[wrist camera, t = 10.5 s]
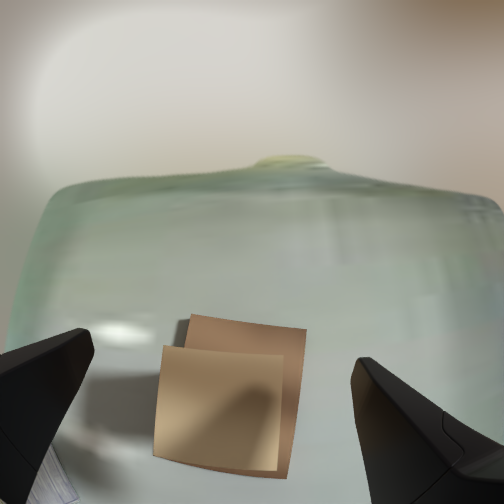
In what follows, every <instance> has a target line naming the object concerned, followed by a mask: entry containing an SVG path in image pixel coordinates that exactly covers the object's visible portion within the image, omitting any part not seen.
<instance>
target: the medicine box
mask: <svg viewBox="0 0 504 504" xmlns="http://www.w3.org/2000/svg"><path fill="white" fill-rule="evenodd" d="M37 473H38V474H37V476H36V479H35V481H34V484H33V486H32V489H31V491H30V494H29V496H28V499H27V502H26V504H73V503H75V502H78V501H80V499H79V497H78V496H77V494H76V492H75V490H74V489H73V487H72V485H71V483H70V482H69V480H68V478H67V476H66V474H65V472H64V470H63V468H62V466H61V464H60V462H59V460H58V458H57V456H56V453H55V451H54V449H53V447H52V444H50V447H49V449H48V451H47V453H46V455H45V457H44V460H43V462H42V464H41V466H40V469H39V471H38V472H37ZM0 504H6V503H5V502H4V501H2V500H1V499H0Z"/></svg>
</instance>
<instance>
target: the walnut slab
mask: <svg viewBox="0 0 504 504" xmlns="http://www.w3.org/2000/svg"><path fill="white" fill-rule="evenodd" d="M306 331H307V329H298V328H288V327H279V326H271V325H263V324H255V323H247V322H240V321H233V320H226V319H220V318H213V317H207V316H201V315H195V314H191V317H190V322H189V326H188V331H187V336H186V341H185V345H184V348H189V349H198V350H208V351H219V352H231V353H245V354H264V355H284V358H283V382H282V402H281V419H280V435H279V449H278V462H277V471H263V470H243V469H231V468H221V467H213V466H205V465H198V464H192V463H186V462H181V461H175V460H171V459H168V460H171V461H175V462H179V463H183V464H187V465H191V466H195V467H200V468H204V469H209V470H214V471H220V472H226V473H232V474H238V475H246V476H254V477H264V478H276V479H287V474H288V468H289V463H290V457H291V451H292V445H293V439H294V432H295V425H296V418H297V411H298V404H299V396H300V388H301V380H302V371H303V362H304V352H305V342H306ZM165 459H166V458H165Z"/></svg>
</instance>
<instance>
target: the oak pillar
mask: <svg viewBox="0 0 504 504" xmlns="http://www.w3.org/2000/svg"><path fill="white" fill-rule="evenodd" d="M283 358H284V355H264V354H245V353H231V352H219V351H208V350H198V349H189V348H181V347H173V346H166V345H164V346H163V353H162V361H161V369H160V377H159V387H158V396H157V407H156V419H155V433H154V449H153V456H157V457H161V458H166V459H171V460H175V461H181V462H186V463H192V464H198V465H205V466H213V467H221V468H231V469H243V470H263V471H277V462H278V449H279V435H280V419H281V402H282V382H283Z"/></svg>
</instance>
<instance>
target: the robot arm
mask: <svg viewBox="0 0 504 504" xmlns="http://www.w3.org/2000/svg"><path fill="white" fill-rule="evenodd" d="M93 356H94V346H93V342H92V338H91V334H90V332H89V331H88V330H87V329H83V328H76V329H74V330H71V331H68V332H65V333H62V334H59V335H56V336H53V337H50V338H48V339H45V340H42V341H39V342H36V343H33V344H30V345H27V346H24V347H21V348H18V349H15V350H12V351H9V352H6V353H3V354H2V355H1V354H0V499H1V500H2V501H4V502H5V503H6V504H26V502H27V499H28V496H29V494H30V491H31V489H32V486H33V484H34V481H35V479H36V476H37V474H38V473H37V472H38V471H39V469H40V466H41V464H42V462H43V460H44V457H45V455H46V453H47V451H48V449H49V447H50V444H51V442H52V440H53V438H54V436H55V434H56V432H57V430H58V428H59V426H60V424H61V422H62V420H63V418H64V416H65V414H66V412H67V410H68V408H69V407H70V405H71V403H72V401H73V399H74V397H75V395H76V394H77V392H78V390H79V388H80V386H81V384H82V381H83V379H84V377H85V374H86V372H87V370H88V367H89V365H90V363H91V361H92V358H93ZM351 391H352V399H353V408H354V417H355V424H356V429H357V433H358V437H359V442H360V446H361V451H362V456H363V460H364V465H365V470H366V475H367V480H368V486H369V491H370V496H371V502H372V504H504V446H503V445H501V444H499V443H497V442H495V441H493V440H491V439H490V438H488V437H486V436H484V435H482V434H480V433H479V432H477V431H475V430H473V429H472V428H470V427H468V426H466V425H465V424H463V423H462V422H460V421H459V420H457V419H456V418H454V417H453V416H451V415H450V414H448V413H447V412H446V411H443V409H441V408H440V407H438V406H437V405H436V404H434V403H433V402H431V401H430V400H429V399H427V398H426V397H424V396H423V395H422V394H420V393H419V392H417V391H416V390H415V389H413V388H412V387H410V386H409V385H408V384H406V383H405V382H404V381H402V380H401V379H399V378H398V377H397V376H395V375H394V374H392V373H391V372H390V371H388V370H387V369H386V368H384V367H383V366H381V365H380V364H379V363H377V362H376V361H375V360H373V359H372V358H370V357H360V358H358V359H357V360H356V363H355V366H354V370H353V373H352V376H351Z"/></svg>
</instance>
